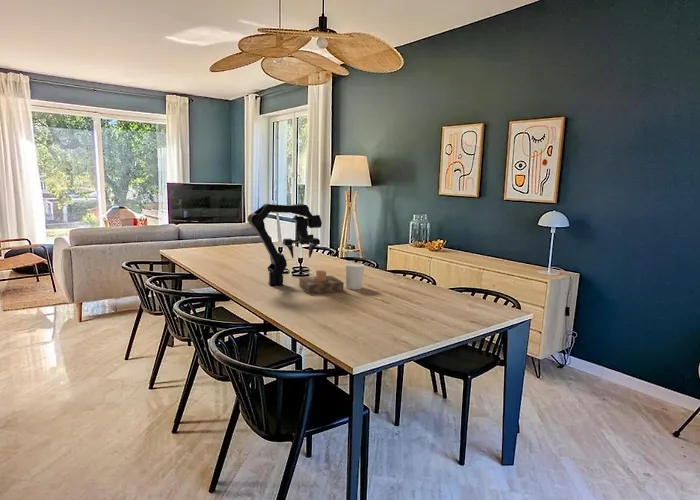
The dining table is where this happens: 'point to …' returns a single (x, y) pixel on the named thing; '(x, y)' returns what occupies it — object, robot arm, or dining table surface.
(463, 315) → the dining table surface
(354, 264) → the candle holder
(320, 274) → the peg
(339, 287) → the socket block
